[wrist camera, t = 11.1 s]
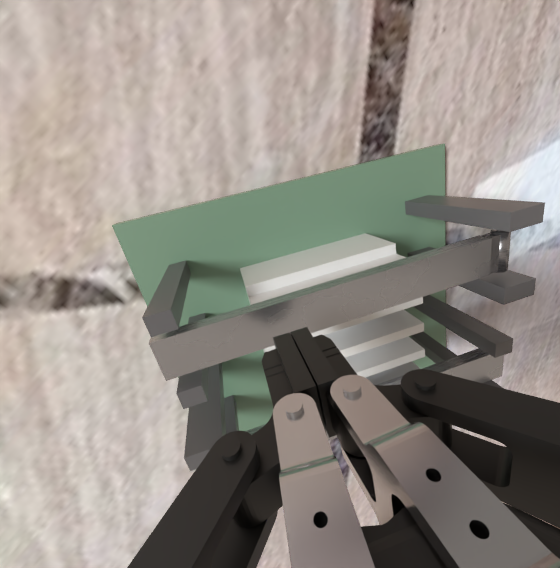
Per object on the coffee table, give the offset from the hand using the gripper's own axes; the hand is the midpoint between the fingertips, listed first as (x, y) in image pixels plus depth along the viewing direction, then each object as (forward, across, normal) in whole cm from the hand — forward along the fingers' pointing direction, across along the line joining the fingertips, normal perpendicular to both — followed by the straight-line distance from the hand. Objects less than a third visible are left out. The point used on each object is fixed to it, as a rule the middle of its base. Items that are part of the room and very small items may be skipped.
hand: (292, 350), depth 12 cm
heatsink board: (+11, -4, +4) cm, 12 cm away
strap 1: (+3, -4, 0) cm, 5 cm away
